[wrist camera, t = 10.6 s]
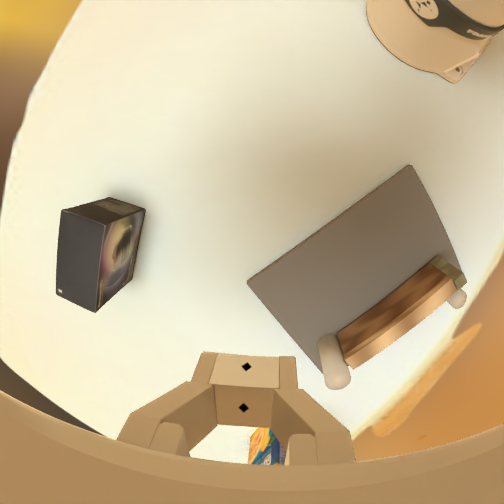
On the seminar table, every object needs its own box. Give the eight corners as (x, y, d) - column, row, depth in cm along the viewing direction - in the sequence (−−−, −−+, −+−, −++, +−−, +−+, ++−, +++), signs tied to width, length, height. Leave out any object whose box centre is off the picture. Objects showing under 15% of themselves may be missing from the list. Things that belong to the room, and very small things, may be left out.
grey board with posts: (408, 164, 31) (445, 166, 23) (462, 279, 35) (496, 305, 26) (247, 280, 37) (239, 314, 28) (325, 374, 41) (333, 416, 32)
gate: (343, 341, 37) (353, 371, 31) (336, 332, 37) (345, 362, 30) (442, 265, 33) (467, 283, 27) (436, 253, 33) (462, 271, 26)
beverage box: (250, 436, 46) (238, 540, 25) (278, 402, 43) (275, 523, 22) (283, 446, 46) (281, 545, 25) (314, 413, 43) (325, 527, 22)
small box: (134, 282, 39) (96, 317, 29) (96, 266, 38) (53, 295, 28) (148, 208, 35) (106, 226, 25) (107, 195, 35) (58, 208, 25)
